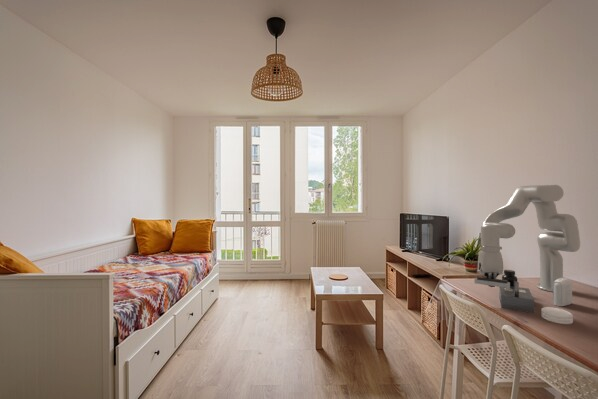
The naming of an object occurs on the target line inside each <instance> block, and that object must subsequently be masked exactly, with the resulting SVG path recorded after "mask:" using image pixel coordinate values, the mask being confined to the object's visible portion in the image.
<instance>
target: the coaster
mask: <svg viewBox="0 0 598 399" xmlns="http://www.w3.org/2000/svg"><path fill="white" fill-rule="evenodd" d="M540 313H541V315H540V316H541V318H542V319H544V320H545V321H549V322H551V323H556V324H560V325H572V324H573V323H574V315H573V313H572V312H570V311H567V310H565V309H562V308H556V307H550V306H546V307H545V306H544V307H542V308H541V312H540Z"/></svg>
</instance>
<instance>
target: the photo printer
mask: <svg viewBox="0 0 598 399" xmlns="http://www.w3.org/2000/svg"><path fill="white" fill-rule="evenodd" d="M571 304H573V283H572V281H571V280H570V279H569V278H565V277H563V278H560V279H557V280H556V281H554V283H553V292H552V305H555V306H556V307H557V306H558V307H566V306H570V305H571Z"/></svg>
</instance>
